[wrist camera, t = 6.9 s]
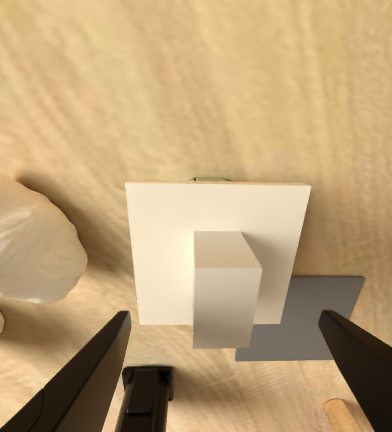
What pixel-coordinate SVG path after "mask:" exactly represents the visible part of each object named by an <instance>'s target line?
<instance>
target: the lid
mask: <svg viewBox="0 0 392 432" xmlns="http://www.w3.org/2000/svg"><path fill="white" fill-rule="evenodd" d="M125 188H126V198H127V207H128V217H129V227H130V236H131V246H132V256H133V265H134V275H135V285H136V294H137V304H138V313H139V323H140V325H193V349H205V348H249V346H250V340H251V334H252V328H253V324H280V321H281V317H282V313H283V308H284V304H285V300H286V295H287V291H288V287H289V282H290V278H291V273H292V269H293V265H294V260H295V256H296V252H297V247H298V243H299V239H300V234H301V230H302V226H303V221H304V217H305V213H306V208H307V204H308V199H309V195H310V191H311V185H307V184H304V183H280V182H225V181H169V180H129V181H127V182H125Z"/></svg>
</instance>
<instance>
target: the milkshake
mask: <svg viewBox="0 0 392 432" xmlns="http://www.w3.org/2000/svg"><path fill="white" fill-rule="evenodd" d="M323 409H324V412H325V414H326V416H327V418H328V421H329V423H330V425H331V427H332V430H333V432H364V431H363V429H362V428H361V426H360V425H359V423H358V422H357V421H356V419H355V418H354V416H353V415H352V413H351V412H350V410H349V409H348V407H347V406H346V404H345V403H344V402H343V401H342V400H341V399H333V400H329V401H328V402H326V403H325V404H324V407H323Z"/></svg>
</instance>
